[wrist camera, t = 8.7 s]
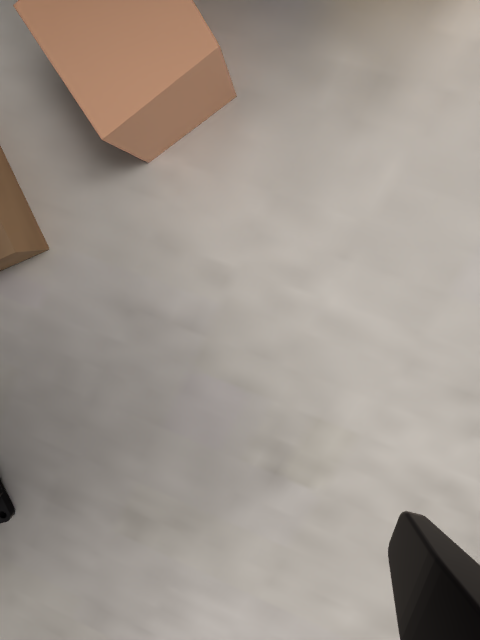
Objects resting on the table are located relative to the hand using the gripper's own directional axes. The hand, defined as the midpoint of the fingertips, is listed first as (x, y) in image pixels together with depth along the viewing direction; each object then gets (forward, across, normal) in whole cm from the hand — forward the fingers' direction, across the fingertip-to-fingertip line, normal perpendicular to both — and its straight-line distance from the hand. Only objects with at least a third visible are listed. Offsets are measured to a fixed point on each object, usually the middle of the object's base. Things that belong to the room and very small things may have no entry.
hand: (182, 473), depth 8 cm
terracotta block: (+12, +6, -10) cm, 17 cm away
